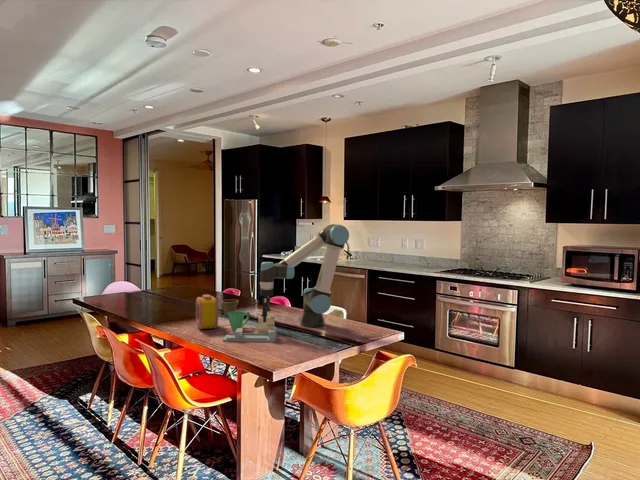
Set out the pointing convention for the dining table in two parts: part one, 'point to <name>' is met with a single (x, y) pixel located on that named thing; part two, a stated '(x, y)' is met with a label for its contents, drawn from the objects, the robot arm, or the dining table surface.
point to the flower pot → (229, 305)
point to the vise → (253, 337)
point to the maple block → (269, 324)
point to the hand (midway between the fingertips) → (265, 325)
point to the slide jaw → (238, 332)
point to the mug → (237, 319)
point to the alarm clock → (206, 312)
